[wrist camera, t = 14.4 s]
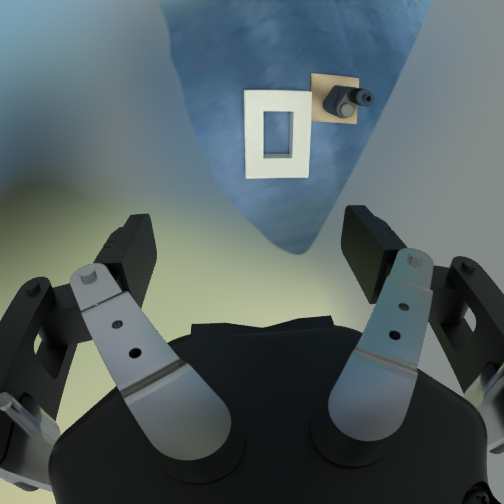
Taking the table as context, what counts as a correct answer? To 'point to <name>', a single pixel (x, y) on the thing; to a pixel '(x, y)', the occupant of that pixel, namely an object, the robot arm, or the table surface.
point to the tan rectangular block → (320, 91)
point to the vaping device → (346, 100)
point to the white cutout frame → (298, 135)
